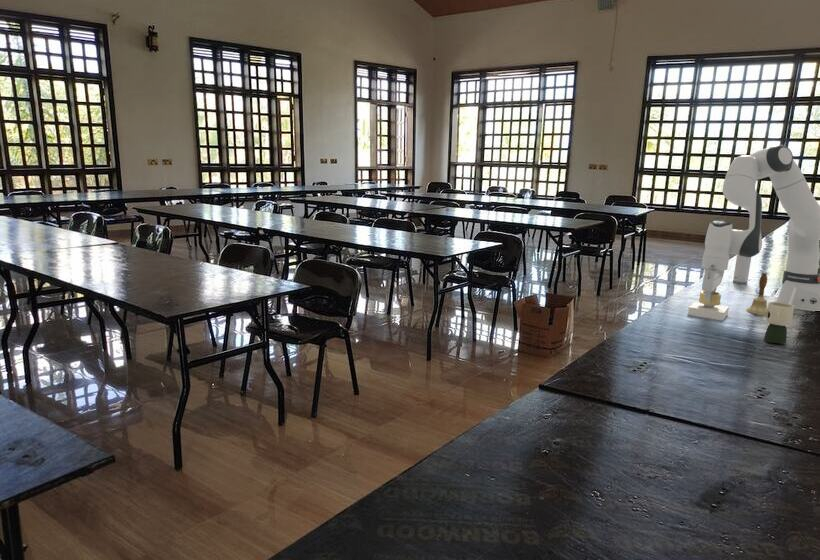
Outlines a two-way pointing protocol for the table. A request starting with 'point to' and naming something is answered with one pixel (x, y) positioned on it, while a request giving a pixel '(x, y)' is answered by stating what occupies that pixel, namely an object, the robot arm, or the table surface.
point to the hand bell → (760, 299)
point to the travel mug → (741, 269)
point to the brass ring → (714, 298)
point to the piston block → (708, 311)
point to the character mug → (778, 321)
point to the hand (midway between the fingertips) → (709, 299)
